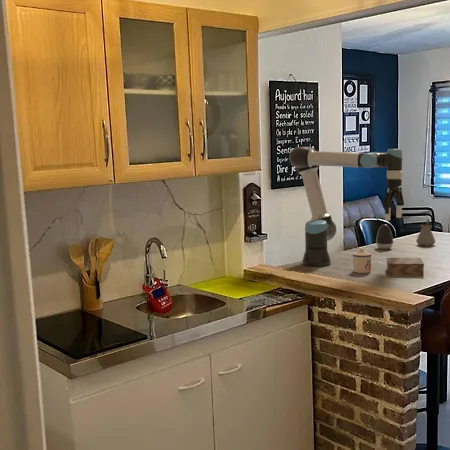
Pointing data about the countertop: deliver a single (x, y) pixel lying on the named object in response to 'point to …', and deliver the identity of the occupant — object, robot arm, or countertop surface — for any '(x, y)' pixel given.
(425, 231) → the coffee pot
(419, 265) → the walnut box
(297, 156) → the robot arm
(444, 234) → the countertop surface
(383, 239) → the brown egg-shaped piece
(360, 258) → the teacup with lid
